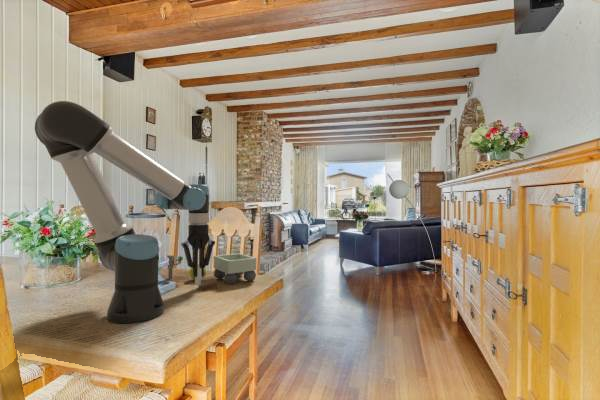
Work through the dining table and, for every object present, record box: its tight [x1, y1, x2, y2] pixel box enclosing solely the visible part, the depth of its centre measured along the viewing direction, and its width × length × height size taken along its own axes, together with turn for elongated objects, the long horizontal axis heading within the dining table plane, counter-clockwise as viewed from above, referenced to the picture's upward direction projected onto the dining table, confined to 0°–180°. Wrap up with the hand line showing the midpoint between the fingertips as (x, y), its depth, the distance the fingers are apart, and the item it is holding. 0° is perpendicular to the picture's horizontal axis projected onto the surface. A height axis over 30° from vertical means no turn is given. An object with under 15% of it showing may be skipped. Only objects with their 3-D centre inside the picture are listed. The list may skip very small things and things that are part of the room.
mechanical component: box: [166, 254, 184, 280], centre depth 141 cm, size 3×10×10 cm, turn 89°
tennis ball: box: [189, 263, 207, 281], centre depth 139 cm, size 7×7×7 cm
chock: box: [197, 275, 218, 291], centre depth 127 cm, size 4×6×4 cm, turn 128°
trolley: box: [213, 253, 257, 285], centre depth 140 cm, size 15×14×10 cm
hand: (198, 284), depth 124 cm, fingers closed
